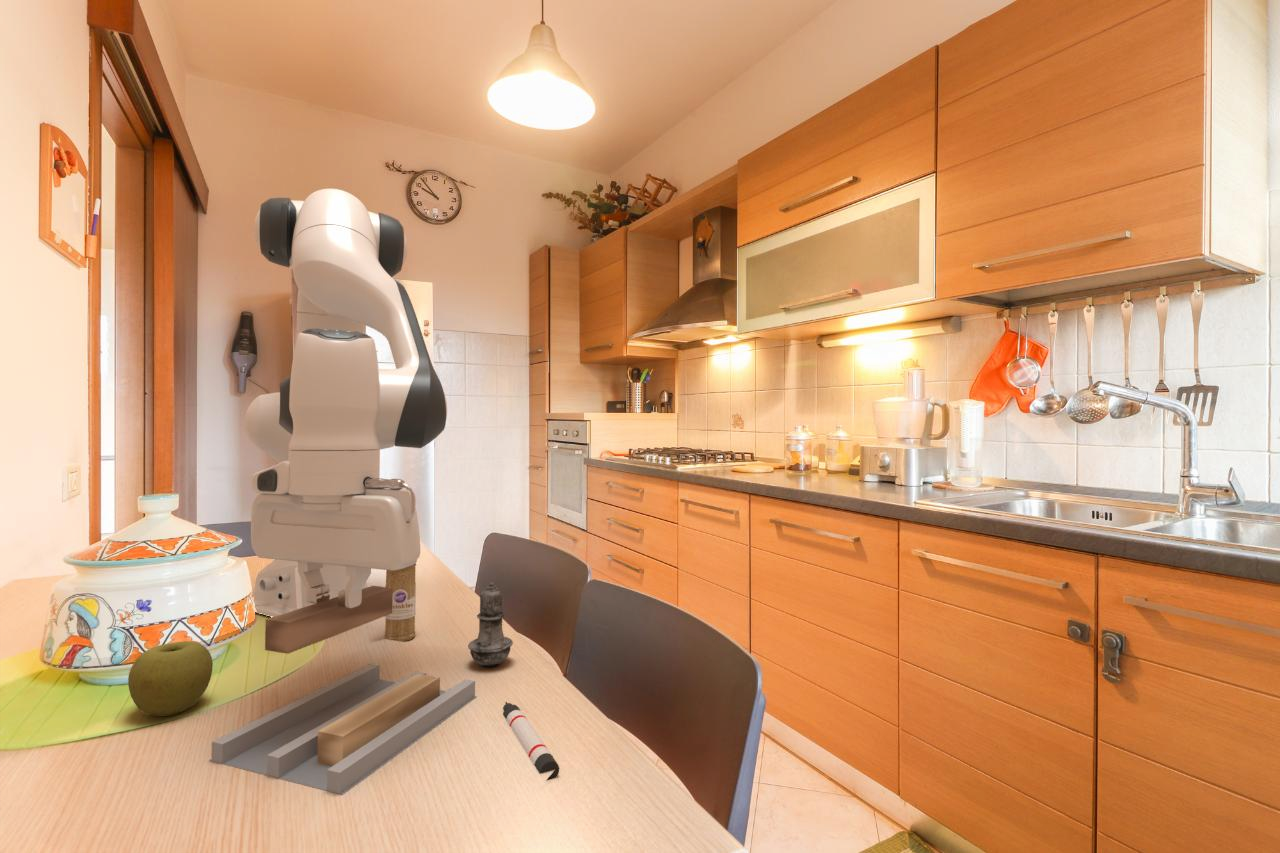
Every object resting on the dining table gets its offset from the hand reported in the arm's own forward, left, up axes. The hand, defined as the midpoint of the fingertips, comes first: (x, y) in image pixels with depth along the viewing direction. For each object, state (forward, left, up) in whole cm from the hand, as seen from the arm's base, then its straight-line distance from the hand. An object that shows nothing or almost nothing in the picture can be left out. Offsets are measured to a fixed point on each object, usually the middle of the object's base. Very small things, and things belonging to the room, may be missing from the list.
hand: (333, 604), depth 64 cm
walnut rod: (0, 0, -3) cm, 3 cm away
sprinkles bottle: (-13, +25, -14) cm, 31 cm away
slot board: (+3, 0, -13) cm, 14 cm away
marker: (+21, +5, -14) cm, 26 cm away
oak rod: (+7, 0, -13) cm, 14 cm away
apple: (-21, -3, -14) cm, 25 cm away
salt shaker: (+7, +19, -14) cm, 24 cm away
